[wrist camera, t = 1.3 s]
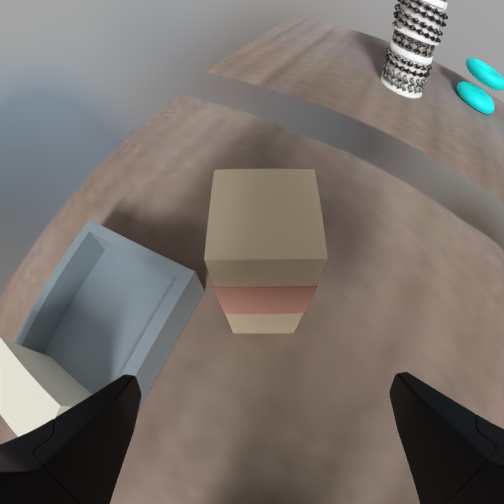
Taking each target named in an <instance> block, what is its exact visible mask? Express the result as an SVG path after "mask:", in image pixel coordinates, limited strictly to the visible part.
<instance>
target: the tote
mask: <svg viewBox="0 0 504 504" xmlns="http://www.w3.org/2000/svg"><path fill="white" fill-rule="evenodd" d="M203 293H204V289H203V287H202V284H201V282H200V280H199V278H198V276H197V274H196V272H195V271H193V270H191V269H189V268H187V267H185V266H183V265H181V264H178V263H176V262H174V261H172V260H170V259H168V258H166V257H164V256H162V255H160V254H158V253H156V252H153V251H151V250H149V249H147V248H145V247H143V246H141V245H139V244H137V243H135V242H133V241H131V240H129V239H127V238H125V237H123V236H121V235H119V234H117V233H115V232H113V231H111V230H109V229H107V228H105V227H103V226H102V225H100V224H98V223H96V222H94V221H92V220H90V219H89V221H88V222H87V223H86V225H85V226H84V227H83V229H82V230H81V232H80V233H79V234H78V236H77V237H76V239H75V240H74V241H73V243H72V244H71V246H70V247H69V249H68V250H67V252H66V253H65V255H64V256H63V258H62V259H61V261H60V262H59V264H58V265H57V267H56V268H55V270H54V272H53V273H52V275H51V276H50V278H49V280H48V281H47V283H46V285H45V286H44V288H43V290H42V291H41V293H40V295H39V297H38V298H37V300H36V302H35V304H34V306H33V307H32V309H31V311H30V313H29V315H28V317H27V319H26V321H25V322H24V324H23V326H22V328H21V330H20V332H19V334H18V337H17V339H16V341H15V344H17V345H20V346H23V347H25V348H28V349H30V350H33V351H36V352H39V353H41V354H44V355H47V356H50V357H52V358H53V359H54V360H55V361H56V362H57V363H58V364H59V365H60V366H61V367H62V368H63V369H64V370H65V371H66V372H67V373H69V374H70V375H71V376H72V377H73V378H74V379H75V380H76V381H78V382H79V383H80V384H81V385H82V386H83V387H85V388H86V389H87V390H88V391H89V392H91V393H92V394H94V393H96V392H97V391H99V390H100V389H102V388H104V387H105V386H107V385H108V384H110V383H111V382H113V381H114V380H116V379H118V378H119V377H121V376H122V375H124V374H128V375H134V376H136V378H137V381H138V384H139V387H140V390H141V401H140V406H139V409H140V407H141V405H142V404H143V402H144V400H145V398H146V396H147V394H148V392H149V391H150V389H151V387H152V385H153V383H154V381H155V379H156V378H157V376H158V374H159V372H160V370H161V368H162V367H163V365H164V363H165V361H166V359H167V358H168V356H169V354H170V352H171V350H172V348H173V347H174V345H175V343H176V341H177V339H178V338H179V336H180V334H181V332H182V330H183V329H184V327H185V325H186V323H187V322H188V320H189V318H190V316H191V314H192V313H193V311H194V309H195V307H196V306H197V304H198V302H199V300H200V298H201V297H202V295H203ZM138 411H139V410H138Z"/></svg>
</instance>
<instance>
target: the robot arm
mask: <svg viewBox="0 0 504 504" xmlns="http://www.w3.org/2000/svg"><path fill="white" fill-rule="evenodd" d="M390 399H391V403H392V407H393V411H394V416H395V421H396V425H397V429H398V433H399V436H400V439H401V442H402V445H403V448H404V451H405V454H406V457H407V460H408V463H409V466H410V470H411V473H412V476H413V480H414V483H415V486H416V490H417V493H418V497H419V501H420V504H504V429H502V428H500V427H498V426H496V425H494V424H492V423H490V422H489V421H487V420H485V419H483V418H482V417H480V416H478V415H475V413H473V412H472V411H470V410H468V409H467V408H465V407H463V406H462V405H460V404H458V403H457V402H455V401H453V400H452V399H450V398H448V397H447V396H445V395H444V394H442V393H440V392H439V391H437V390H435V389H434V388H432V387H430V386H429V385H427V384H426V383H424V382H422V381H421V380H419V379H418V378H416V377H414V376H413V375H411V374H410V373H408V372H402V373H397V374H396V375H395V377H394V380H393V383H392V386H391V389H390ZM140 401H141V390H140V387H139V384H138V381H137V378H136V376H134V375H128V374H124V375H122V376H121V377H119V378H118V379H116V380H114V381H113V382H111V383H110V384H108V385H107V386H105V387H104V388H102V389H100V390H99V391H97V392H96V393H94V394H92V395H91V396H89V397H88V398H86V399H84V400H83V401H81V402H80V403H78V404H76V405H75V406H73V407H72V408H70V409H68V410H67V411H65V412H63V413H62V414H60V415H58V416H57V417H55V419H52V420H50V421H48V422H47V423H45V424H43V425H41V426H40V427H38V428H36V429H34V430H32V431H30V432H28V433H26V434H24V435H21V436H19V437H17V438H15V439H12V440H10V441H8V442H6V443H3V444H0V504H110V501H111V498H112V494H113V491H114V488H115V485H116V482H117V479H118V476H119V473H120V470H121V467H122V464H123V461H124V458H125V455H126V452H127V449H128V446H129V444H130V441H131V438H132V435H133V432H134V428H135V423H136V419H137V414H138V410H139V406H140Z"/></svg>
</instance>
